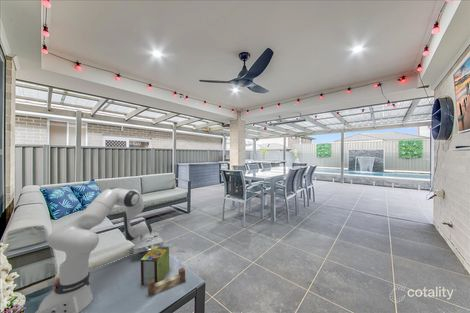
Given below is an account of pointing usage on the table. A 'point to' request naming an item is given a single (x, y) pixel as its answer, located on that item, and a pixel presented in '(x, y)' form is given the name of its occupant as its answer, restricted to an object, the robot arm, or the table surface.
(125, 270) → the table surface
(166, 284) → the beam
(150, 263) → the protein box
